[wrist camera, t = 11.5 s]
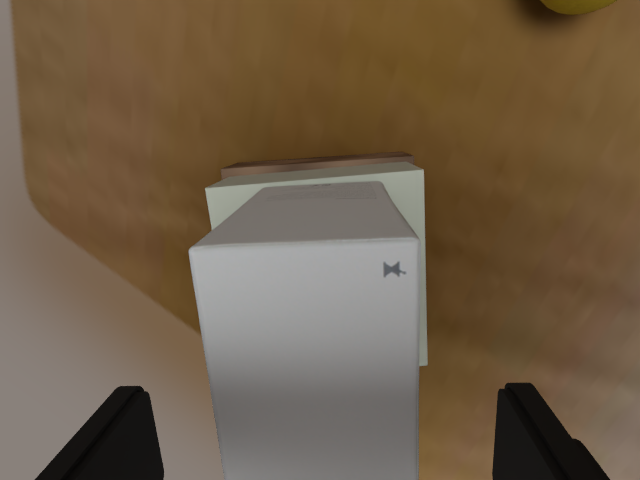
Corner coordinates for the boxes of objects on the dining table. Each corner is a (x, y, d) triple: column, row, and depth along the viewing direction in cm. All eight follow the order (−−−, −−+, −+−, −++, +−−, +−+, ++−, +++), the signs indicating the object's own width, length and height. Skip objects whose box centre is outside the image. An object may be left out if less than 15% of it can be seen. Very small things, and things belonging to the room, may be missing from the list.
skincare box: (254, 186, 20) (177, 245, 10) (382, 179, 20) (434, 232, 10) (273, 368, 23) (227, 555, 13) (386, 364, 23) (429, 552, 13)
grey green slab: (405, 161, 25) (423, 169, 20) (411, 323, 28) (427, 365, 23) (229, 176, 25) (205, 188, 20) (252, 334, 28) (236, 376, 23)
